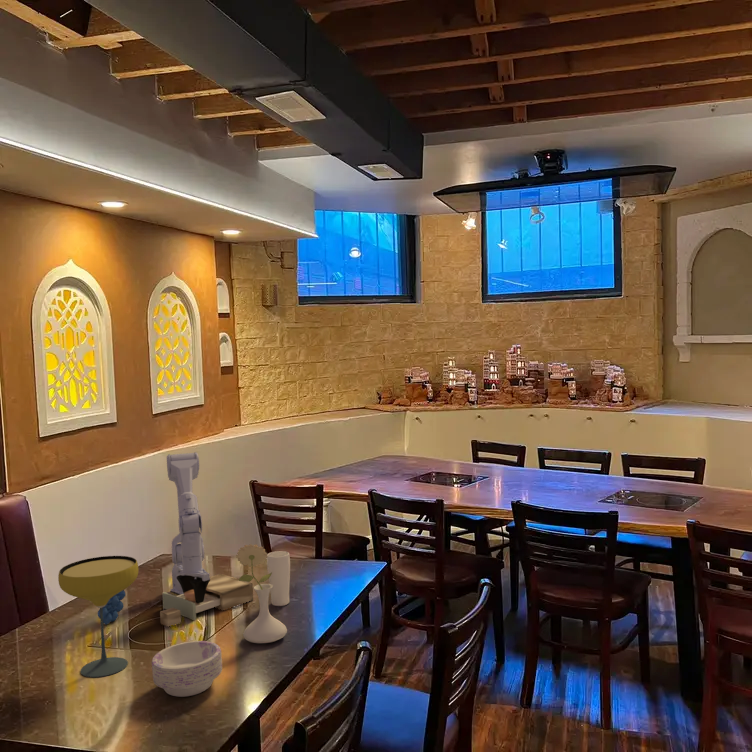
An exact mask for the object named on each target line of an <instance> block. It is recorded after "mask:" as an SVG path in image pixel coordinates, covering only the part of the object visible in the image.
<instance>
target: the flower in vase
mask: <svg viewBox="0 0 752 752" xmlns="http://www.w3.org/2000/svg"><path fill="white" fill-rule="evenodd" d="M236 553H237V554H236V555H235V558H236V559H237V561H238V562H239V564H241V565H243V566H248V567H251V574H252V575H250V574H243V575H241V576H240V577H239V578H238V579H239V580H238V581H246V582H250V583H251V582H252V581H253V579H254V581H255V582H256V583H257V584H256V585H254V586H253V591H255V592H256V595H257V598H258V603H259V614H258V616H257V617H256V618H255V619H254V620H253V621H252V622H250V624H248V626H246V628H245V629H244V631H243V634H242V635H243V638H244V639H245V640H246V641H247V642H249V643H254V644H269V643H273V642H276V641H278V640H281V639H282V638H284V637H285V636H286V635H287V632H288V629H287V626H286V625H285V624H284V623H282V622H281V621H280V620H279V619H277V618H275V617H274V616H272V615H271V613H270V611H269V598H270V594H271V592H270V590H271V589H272V587H273V586H272V585H271V584H269V583H265V582H266V581H267V580H269V577H270V576H271V574H272V572H271V573H270V574H268V573H267V574H265V575H263V576H262V577H261V578H260V579H259V580H258V579H257V578H256V577H255V575H254V570H253V569H254V568H253V567H257V566H260V565H262V564H265V563H266V562H265V561H267V557H268V556H267V554H268V552H267V551H266V549H265V548H264V546H258V544H257V543H256V544H252V543H250V544H249V545H248V544H245V545H244V547H242V546H241V547H240V548H239V549H238V551H237V552H236Z"/></svg>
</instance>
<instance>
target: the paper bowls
mask: <svg viewBox="0 0 752 752" xmlns="http://www.w3.org/2000/svg"><path fill="white" fill-rule="evenodd" d="M151 669H152V671H151V672H152V679H153V683H154V685H156V686H157V687H159V688H161V689H163V691H165V693H166V694H168V695H169V696H173V697H177V698H178V697H180V698H183V697H185V698H186V697H190V696H197V695H199V694H201V693H202V692H205V691H206V690H208V689H209V688H210V687H211V686H212V684H213V682H214V680H215V679H216V678H218V676H219V675H221V673H222V671H223V659H222V650H221V647H220V645H218V644H217V643H215V642H212V641H206V640H194V641H193V640H192V641H185V642H181V643H175V644H173V645H170V646H168V647H165V648H163V649H162V650H160V651H158V652H156V653H155V655H154V656H153V657H152V660H151Z"/></svg>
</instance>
